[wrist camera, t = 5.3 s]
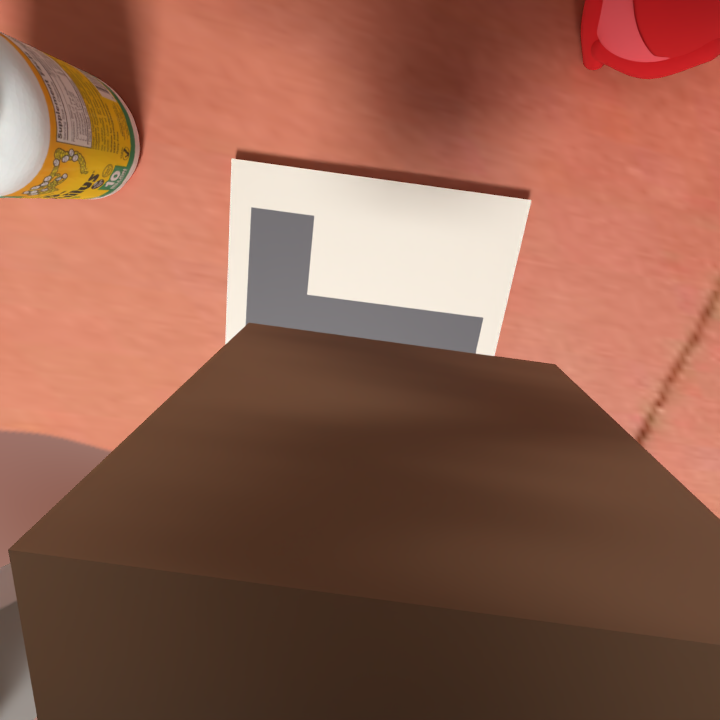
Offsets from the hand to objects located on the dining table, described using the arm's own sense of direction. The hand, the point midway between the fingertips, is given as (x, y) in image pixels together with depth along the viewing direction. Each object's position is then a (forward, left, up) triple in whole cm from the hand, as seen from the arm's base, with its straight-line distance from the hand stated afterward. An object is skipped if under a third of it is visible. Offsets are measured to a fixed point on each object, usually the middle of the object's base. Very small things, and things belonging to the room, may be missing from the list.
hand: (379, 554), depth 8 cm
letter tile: (0, 0, -17) cm, 17 cm away
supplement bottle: (+14, -7, -17) cm, 23 cm away
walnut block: (0, 0, -2) cm, 2 cm away
